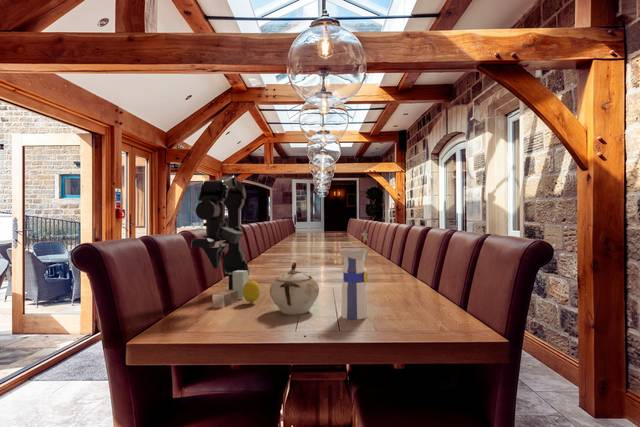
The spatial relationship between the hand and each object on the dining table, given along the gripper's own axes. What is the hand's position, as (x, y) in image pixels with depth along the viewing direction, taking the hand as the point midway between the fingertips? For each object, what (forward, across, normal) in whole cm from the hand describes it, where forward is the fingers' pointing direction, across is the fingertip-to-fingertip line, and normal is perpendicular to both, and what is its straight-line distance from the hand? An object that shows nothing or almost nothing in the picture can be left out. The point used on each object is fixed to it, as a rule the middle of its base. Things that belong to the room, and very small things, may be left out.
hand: (215, 268), depth 140 cm
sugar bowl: (+13, +1, -26) cm, 29 cm away
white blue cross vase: (+13, 0, -45) cm, 47 cm away
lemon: (+13, +8, -8) cm, 17 cm away
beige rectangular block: (+11, 0, 0) cm, 11 cm away
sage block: (+12, +16, 0) cm, 20 cm away
